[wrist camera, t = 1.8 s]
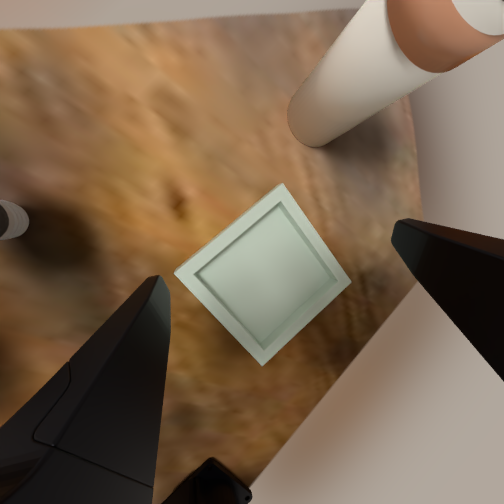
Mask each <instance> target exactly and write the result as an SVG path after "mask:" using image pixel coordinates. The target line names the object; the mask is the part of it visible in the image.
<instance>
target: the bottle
mask: <svg viewBox="0 0 504 504" xmlns="http://www.w3.org/2000/svg"><path fill="white" fill-rule="evenodd" d="M503 39H504V0H366V1H365V3H364V4H363V5H362V7H361V8H360V9H359V11H358V12H357V13H356V14H355V16H354V17H353V18H352V20H351V21H350V22H349V24H348V25H347V26H346V27H345V29H344V30H343V31H342V33H341V34H340V35H339V37H338V38H337V39H336V40H335V42H334V43H333V44H332V46H331V47H330V48H329V50H328V51H327V52H326V53H325V55H324V56H323V57H322V59H321V60H320V61H319V63H318V64H317V65H316V66H315V68H314V69H313V70H312V72H311V73H310V74H309V76H308V77H307V78H306V79H305V81H304V82H303V83H302V85H301V86H300V87H299V89H298V90H297V91H296V92H295V94H294V95H293V96H292V98H291V100H290V102H289V105H288V110H287V118H288V124H289V127H290V129H291V131H292V133H293V135H294V136H295V137H296V138H297V139H298V140H299V141H300V142H301V143H303V144H305V145H307V146H310V147H320V146H323V145H325V144H327V143H329V142H330V141H332V140H333V139H335V138H337V137H338V136H340V135H342V134H343V133H345V132H347V131H348V130H350V129H352V128H353V127H355V126H356V125H358V124H360V123H361V122H363V121H365V120H366V119H368V118H370V117H371V116H373V115H374V114H376V113H378V112H379V111H381V110H383V109H384V108H386V107H388V106H389V105H391V104H393V103H394V102H396V101H397V100H399V99H401V98H402V97H404V96H406V95H407V94H409V93H411V92H412V91H414V90H415V89H417V88H419V87H420V86H422V85H424V84H425V83H427V82H428V81H430V80H432V79H433V78H435V77H437V76H438V75H440V74H442V73H444V72H447V71H450V70H452V69H454V68H456V67H458V66H459V65H461V64H462V63H464V62H466V61H467V60H469V59H471V58H472V57H474V56H476V55H478V54H479V53H481V52H482V51H484V50H486V49H488V48H489V47H491V46H492V45H494V44H496V43H497V42H499V41H501V40H503Z"/></svg>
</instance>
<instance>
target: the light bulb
mask: <svg viewBox="0 0 504 504" xmlns="http://www.w3.org/2000/svg"><path fill="white" fill-rule="evenodd" d="M28 225H29V218H28V215H27V213H26V212H25V211H24V210H23V209H22V208H21V207H20V206H18V205H16V204H14V203H12V202H9V201H5V200H0V240H5V239H10V238H14V237H18V236H20V235H22V234H23V233H24V232H25V231H26V230H27V228H28Z"/></svg>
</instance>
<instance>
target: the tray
mask: <svg viewBox="0 0 504 504" xmlns="http://www.w3.org/2000/svg"><path fill="white" fill-rule="evenodd" d="M174 274H175V275H176V276H177V277H178V278H179V279H180V280H181V282H182V283H183V284H184V285H185V286H186V287H187V288H188V289H189V290H190V291H191V292H192V293H193V294H194V295H195V296H196V297H197V298H198V299H199V300H200V302H201V303H202V304H203V305H204V306H205V307H206V308H207V309H208V310H209V311H210V312H211V313H212V314H213V315H214V316H215V317H216V318H217V319H218V320H219V322H220V323H221V324H222V325H223V326H224V327H225V328H226V329H227V330H228V331H229V332H230V333H231V334H232V335H233V336H234V337H235V338H236V339H237V340H238V341H239V343H240V344H241V345H242V346H243V347H244V348H245V349H246V350H247V351H248V352H249V353H250V354H251V355H252V356H253V357H254V358H255V359H256V360H257V361H258V363H259V364H260V365H261V366H263V365H264V364H265V363H266V362H267V361H268V360H270V359H271V358H272V357H273V356H274V355H275V354H276V353H277V352H278V351H279V350H280V349H281V348H282V347H283V346H284V345H285V344H286V343H288V342H289V341H290V340H291V339H292V338H293V337H294V336H295V335H296V334H297V333H298V332H299V331H300V330H301V329H302V328H303V327H305V326H306V325H307V324H308V323H309V322H310V321H311V320H312V319H313V318H314V317H315V316H316V315H317V314H318V313H319V312H320V311H321V310H323V309H324V308H325V307H326V306H327V305H328V304H329V303H330V302H331V301H332V300H333V299H334V298H335V297H336V296H337V295H338V294H340V293H341V292H342V291H343V290H344V289H345V288H346V287H347V286H348V285H349V284H350V283H351V280H350V279H349V277H348V276H347V274H346V273H345V272H344V270H343V269H342V267H341V266H340V264H339V263H338V262H337V260H336V259H335V257H334V256H333V254H332V253H331V252H330V250H329V249H328V247H327V246H326V244H325V243H324V242H323V240H322V239H321V237H320V236H319V234H318V233H317V232H316V230H315V229H314V227H313V226H312V224H311V223H310V222H309V220H308V219H307V217H306V216H305V214H304V213H303V212H302V210H301V209H300V207H299V206H298V204H297V203H296V202H295V200H294V199H293V197H292V196H291V194H290V193H289V192H288V190H287V189H286V187H285V186H284V184H283V183H281V184H279V185H277V186H275V187H274V188H273V189H272V190H271V191H269V192H268V193H267V194H266V195H264V196H263V197H262V198H261V199H260V200H258V201H257V202H256V203H255V204H254V205H252V206H251V207H250V208H249V209H248V210H246V211H245V212H244V213H243V214H242V215H240V216H239V217H238V218H237V219H236V220H234V221H233V222H232V223H231V224H230V225H228V226H227V227H226V228H225V229H224V230H222V231H221V232H220V233H219V234H217V235H216V236H215V237H214V238H213V239H211V240H210V241H209V242H208V243H207V244H205V245H204V246H203V247H202V248H201V249H199V250H198V251H197V252H196V253H195V254H193V255H192V256H191V257H190V258H189V259H187V260H186V261H185V262H184V263H183V264H181V265H180V266H179V267H178V268H177V269H175V272H174Z"/></svg>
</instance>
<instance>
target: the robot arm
mask: <svg viewBox="0 0 504 504" xmlns="http://www.w3.org/2000/svg"><path fill="white" fill-rule="evenodd" d="M391 242H392V245H393V246H394V248H395V249H396V251H397V252H398V254H399V255H400V257H401V258H402V260H403V261H404V262H405V264H406V265H407V267H408V268H409V270H410V271H411V273H412V274H413V275H414V277H415V278H416V279H417V280H418V281H419V283H420V284H421V285H422V286H423V287H424V289H425V290H426V291H427V292H428V293H429V294H430V296H431V297H432V298H433V299H434V300H435V301H436V303H437V304H438V305H439V306H440V307H441V308H442V310H443V311H444V312H445V313H446V314H447V316H448V317H449V318H450V319H451V320H452V321H453V323H454V324H455V325H456V326H457V327H458V328H459V329H460V330H461V332H462V333H463V334H464V335H465V337H466V338H467V339H468V340H469V341H470V343H472V345H473V346H474V347H475V348H476V349H477V351H478V352H479V353H480V354H481V355H482V357H483V358H484V359H485V360H486V361H487V362H488V364H489V365H490V366H491V367H492V368H493V369H494V371H495V372H496V373H497V374H498V375H499V376H500V378H501V379H502V380H503V381H504V240H503V239H498V238H494V237H490V236H485V235H481V234H477V233H472V232H468V231H463V230H459V229H454V228H450V227H445V226H441V225H437V224H432V223H427V222H423V221H419V220H414V219H410V218H407V219H402V220H398V221H397V222H396V223H395V225H394V229H393V233H392V237H391ZM170 333H171V313H170V292H169V289H168V287H167V286H166V284H165V282H164V280H163V278H162V277H161V276H160V275H155V276H151V277H148V278H147V279H146V280H145V281H144V282H143V283H142V284H141V285H140V286H139V287H138V288H137V289H136V290H135V291H134V292H133V294H132V295H131V296H130V297H129V298H128V299H127V300H126V301H125V302H124V303H123V304H122V305H121V306H120V307H119V308H118V309H117V310H116V311H115V312H114V313H113V314H112V315H111V317H110V318H109V319H108V320H107V321H106V322H105V323H104V324H103V325H102V326H101V327H100V328H99V329H98V330H97V331H96V332H95V333H94V334H93V335H92V336H91V337H90V338H89V339H88V340H87V342H86V343H85V344H84V345H83V346H82V347H81V348H80V349H79V350H78V351H77V352H76V353H75V354H74V355H73V356H72V357H71V358H70V360H69V362H66V363H65V364H64V365H63V367H62V368H61V369H60V370H59V371H58V372H57V373H56V374H55V375H54V376H53V377H52V378H51V379H50V380H49V381H48V382H47V383H46V384H45V385H44V386H43V387H42V388H41V389H40V390H39V391H38V392H37V393H36V394H35V395H34V396H33V397H32V398H31V399H30V400H29V401H28V402H27V403H26V404H25V405H24V406H23V407H22V408H20V409H19V410H18V411H17V412H16V413H15V414H14V415H13V416H12V417H11V418H10V419H9V420H8V421H7V422H6V423H5V424H4V425H2V426H1V427H0V504H152V497H153V488H152V487H153V486H154V478H155V469H156V460H157V451H158V442H159V433H160V424H161V415H162V406H163V397H164V389H165V380H166V371H167V362H168V353H169V344H170ZM209 466H210V467H209ZM251 499H252V492H251V490H250V489H249V488H248V487H246V486H245V485H244V484H243V483H241V482H240V481H239V480H238V479H237V478H235V477H234V476H233V475H232V474H230V473H229V472H228V471H227V470H225V469H224V468H223V467H222V466H221V465H219V464H218V463H217V462H216V461H214V460H213V459H209V460H207V461H206V462H205V463H204V464H203V465H202V466H201V467H200V468H199V469H198V470H197V471H196V472H195V473H194V474H193V475H192V476H191V477H190V478H188V479H187V480H186V481H185V482H184V483H183V484H182V485H181V486H180V487H179V488H178V489H177V490H176V491H175V492H174V493H173V494H172V495H171V496H170V497H169V498H168V499H167V500H166V501H165V502H164V503H163V504H248V503H249V502H250V501H251Z"/></svg>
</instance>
